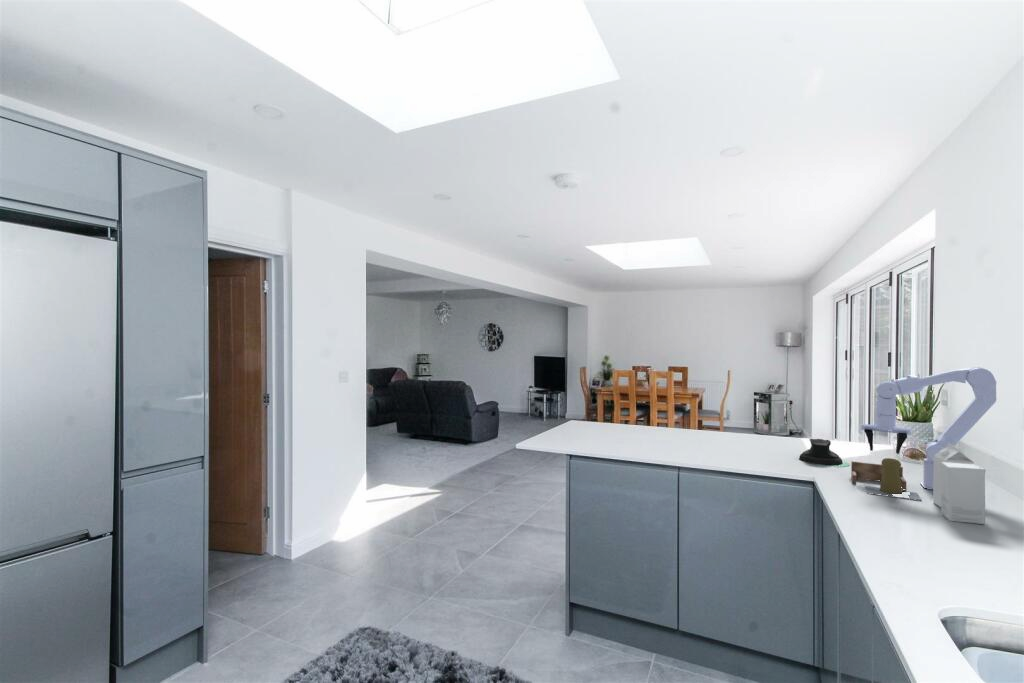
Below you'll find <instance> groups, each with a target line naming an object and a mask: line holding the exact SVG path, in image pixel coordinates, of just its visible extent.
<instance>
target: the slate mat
mask: <svg viewBox="0 0 1024 683" xmlns="http://www.w3.org/2000/svg"><path fill="white" fill-rule="evenodd" d="M866 489H867V490H866ZM865 490H866V493H867V492H868V493H873V494H872V495H874V494H881V495H888V496H893V495H892V494H889V493H884V492H881V491H880V487H875V486H868V485H865ZM909 492H910V495H908V496H909V498H910V499H916V500H915V501H917V500H922V501H923V499H922V498H921V496H920V495H919V494H918V492H914V491H909ZM868 493H867V494H868ZM881 495H880V496H881ZM888 496H887V497H888Z"/></svg>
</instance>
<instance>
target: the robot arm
mask: <svg viewBox="0 0 1024 683" xmlns="http://www.w3.org/2000/svg"><path fill="white" fill-rule="evenodd" d="M950 382H957V383H962V384H966V382H967V383H968V384H969V385H970V386H971V388H972V391H973V394H974V399H972V400H971V402H970V403H969V404H968V405H967V406H966V407H964V409H963V410H962V411H961V413H960V414H959V415H957V417H956V418H955V419H954V420H953V422H951V423H950V425H949V426H948V427H947V428H946V429H945V430H944V431H943V432H942V433H940V435H939V436H937V438H936V439H934V440H932V441H929V442H927V443H926V445H925V447H924V451H925V456H926V457H925V458H923V475H922V476H923V479H922V480H923V481H920V482H919V483H920V485H921V486H922V488H923V487H924V488H923V489H925V488H927V489H926V490H933V479H934V455H935V454H937V453H938V452H940V450H942V449H945V448H946V447H947V443H948V444H951V445H953V446H956V447H957V444H958V443H959V442H960V441H961V440H962V439H963V438H964V437H965V436H966V435H967V433H968V432H969V431H970V430H971V429H972V428H973V427H974V426H975V425H976V424H977V423H978V422H979V421H980V419H981V418H982V417H983V416H984V415H985V414H986V413H987V412H988V411H989V410H990V409H991V408H992V407H993V406H994V404H995V403H996V402H997V380H996V378H995V376H994V374H993V373H992V371H990V370H988V369H986V368H984V367H980V366H978V367H976V366H975V367H972V368H960V369H953V370H948V371H944V372H940V373H938V374H933V375H928V376H923V377H920V376H917V375H912V374H907V375H906V377H902V378H898V379H894V378H892V379H890V381H883V382H881V383H880V384H879V385H878V386H877V388H876V392H877V397H876V398H877V401H876V407H875V408H876V412H875V415H876V416H875V424H865V423H860V430H861V431H864V433H865V435H866V438H867V441H868V444H869V451H872V452H873V450H874V445H873V444H874V432H883V433H890V434H892V433H893V434H896V448H895V453H896V455H900V451H901V449H902V447H903V444H904V442H905V441H906V440H907V438H908V435H909V436H910V435H912V429H911V428H907V427H898V426H896V423H897V422H896V421H897V419H896V417H897V416H896V415H897V402H896V396H897V395H899V396H903V395H904V396H905V395H909V394H912V393H913V394H915V393H919V392H922V391H923V390H924V388H925V387H929V386H934V385H935V386H936V385H940V384H945V383H950Z"/></svg>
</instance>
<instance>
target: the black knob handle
mask: <svg viewBox="0 0 1024 683" xmlns="http://www.w3.org/2000/svg"><path fill="white" fill-rule="evenodd" d="M809 442H810V448H809V449H806V450H805V451H803V452H801V453H800V455H799V458H798V460H800V461H802V462H804V463H808V464H811V465H813V464H814V465H816V466H819V467H829V468H837V467H838V468H844V467H848V466H851V464H850V462H848V461H843V459H842V457H841V456H840V455H839V454H837V453H836V452H834V451H832V450H831V449H830V446H831V444H832V443H831V442H832V441H831V440H830V439H823V438H809ZM839 465H840V466H839Z"/></svg>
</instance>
